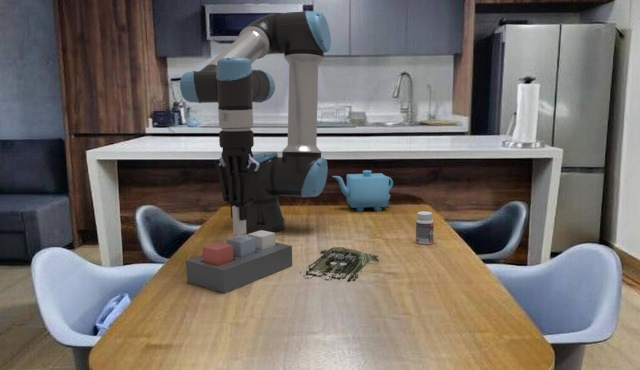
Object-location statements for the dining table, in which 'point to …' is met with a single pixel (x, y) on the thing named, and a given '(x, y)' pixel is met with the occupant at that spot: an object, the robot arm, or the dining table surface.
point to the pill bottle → (424, 228)
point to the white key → (263, 239)
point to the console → (239, 268)
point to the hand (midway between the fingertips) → (239, 233)
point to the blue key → (242, 245)
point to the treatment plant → (341, 263)
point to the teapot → (366, 190)
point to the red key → (217, 253)
